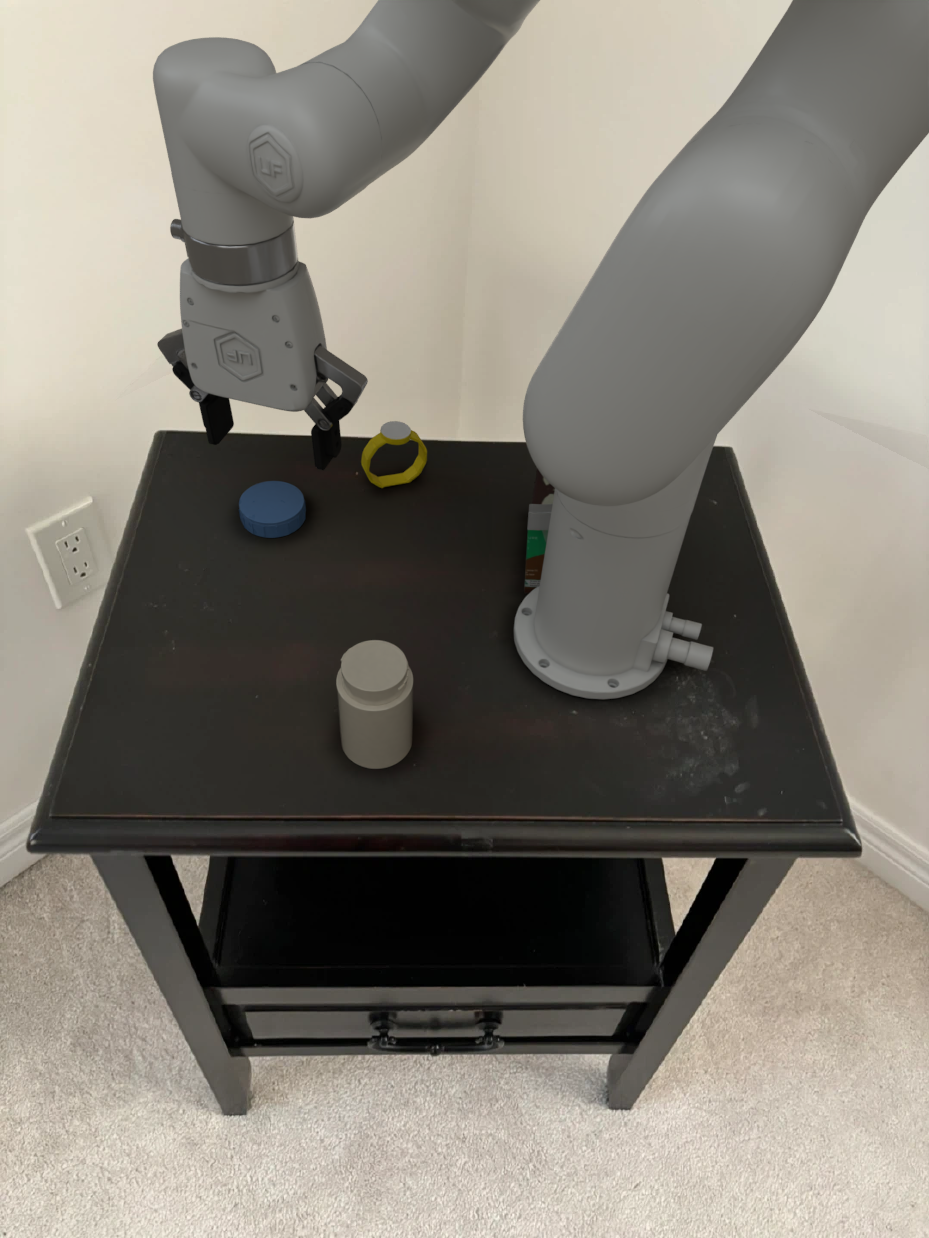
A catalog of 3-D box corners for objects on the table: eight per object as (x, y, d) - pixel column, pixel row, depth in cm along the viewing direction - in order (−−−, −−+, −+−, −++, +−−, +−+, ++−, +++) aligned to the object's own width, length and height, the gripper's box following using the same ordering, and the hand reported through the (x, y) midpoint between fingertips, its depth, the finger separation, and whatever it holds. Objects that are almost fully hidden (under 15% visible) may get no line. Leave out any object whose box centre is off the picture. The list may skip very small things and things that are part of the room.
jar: (422, 722, 69) (424, 647, 63) (397, 778, 66) (396, 705, 60) (357, 702, 70) (353, 626, 64) (329, 756, 67) (321, 682, 60)
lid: (229, 528, 82) (226, 513, 81) (259, 489, 86) (257, 474, 85) (288, 545, 81) (286, 530, 80) (316, 505, 85) (315, 489, 84)
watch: (368, 497, 86) (367, 445, 82) (359, 479, 88) (357, 427, 83) (429, 484, 88) (430, 432, 83) (418, 466, 89) (419, 414, 85)
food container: (596, 611, 77) (610, 515, 70) (522, 604, 78) (528, 508, 71) (601, 520, 86) (613, 427, 79) (534, 515, 86) (541, 421, 79)
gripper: (103, 250, 64) (158, 451, 77) (334, 295, 61) (352, 498, 73) (161, 206, 69) (203, 402, 82) (378, 245, 66) (387, 444, 78)
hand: (274, 447), depth 77 cm, fingers open, 9 cm apart
